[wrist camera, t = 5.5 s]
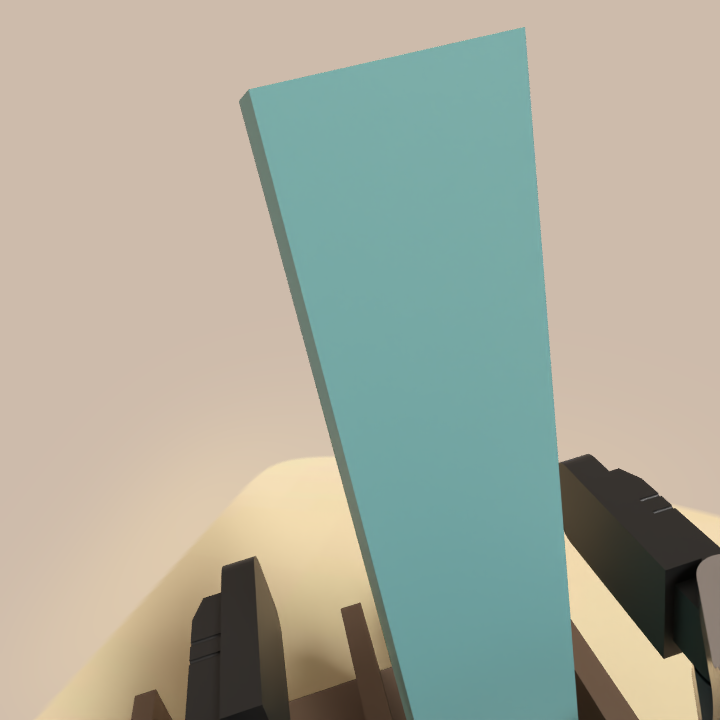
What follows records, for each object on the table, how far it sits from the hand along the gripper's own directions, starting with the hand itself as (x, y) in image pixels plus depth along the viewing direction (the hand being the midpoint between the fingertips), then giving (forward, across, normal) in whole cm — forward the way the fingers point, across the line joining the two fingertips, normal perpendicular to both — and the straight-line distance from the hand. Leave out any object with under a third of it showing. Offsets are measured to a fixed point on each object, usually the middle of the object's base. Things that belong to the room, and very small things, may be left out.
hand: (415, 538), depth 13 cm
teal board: (-2, 0, +12) cm, 13 cm away
